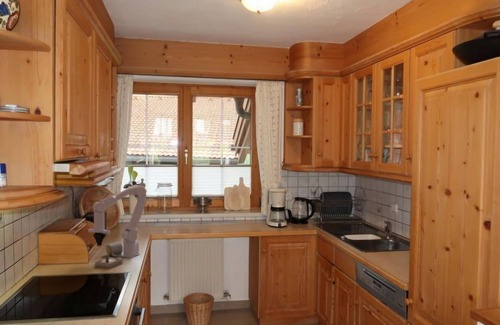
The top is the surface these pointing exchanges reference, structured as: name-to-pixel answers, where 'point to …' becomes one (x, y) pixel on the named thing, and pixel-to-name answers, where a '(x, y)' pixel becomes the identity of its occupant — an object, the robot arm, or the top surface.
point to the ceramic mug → (114, 249)
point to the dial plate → (108, 265)
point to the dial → (108, 260)
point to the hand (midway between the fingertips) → (99, 245)
